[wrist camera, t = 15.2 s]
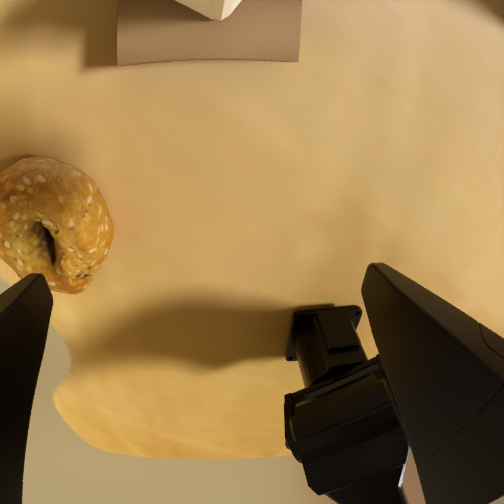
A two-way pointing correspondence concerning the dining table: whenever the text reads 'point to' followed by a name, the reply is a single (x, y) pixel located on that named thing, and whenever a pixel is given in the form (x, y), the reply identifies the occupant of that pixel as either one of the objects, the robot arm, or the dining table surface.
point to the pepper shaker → (212, 7)
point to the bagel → (53, 223)
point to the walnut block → (207, 32)
